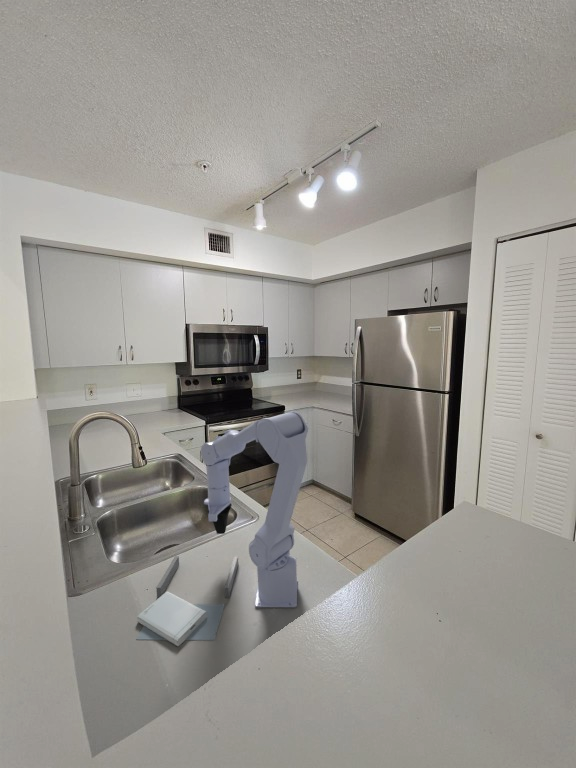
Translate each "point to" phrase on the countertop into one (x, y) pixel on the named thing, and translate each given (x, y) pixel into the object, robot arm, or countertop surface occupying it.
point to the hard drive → (172, 618)
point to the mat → (202, 632)
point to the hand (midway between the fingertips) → (221, 532)
